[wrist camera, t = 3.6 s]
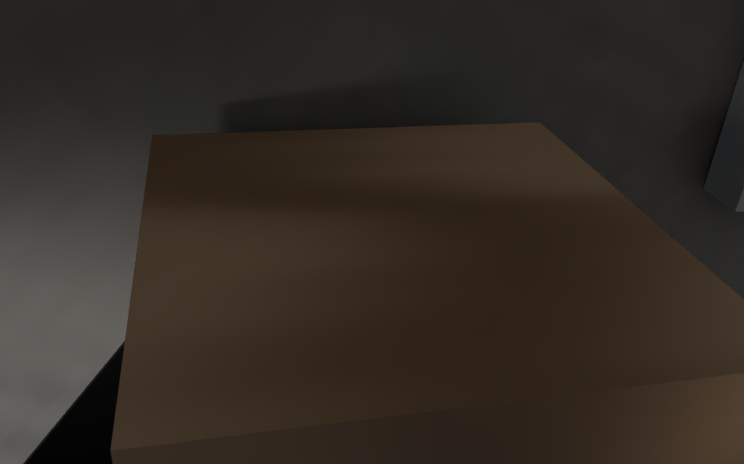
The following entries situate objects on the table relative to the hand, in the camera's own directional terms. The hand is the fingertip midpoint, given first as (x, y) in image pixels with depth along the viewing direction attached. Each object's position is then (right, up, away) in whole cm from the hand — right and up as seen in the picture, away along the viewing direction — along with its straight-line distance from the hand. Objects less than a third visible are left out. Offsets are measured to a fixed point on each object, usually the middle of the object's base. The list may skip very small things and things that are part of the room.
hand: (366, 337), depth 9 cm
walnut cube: (0, +1, +1) cm, 1 cm away
